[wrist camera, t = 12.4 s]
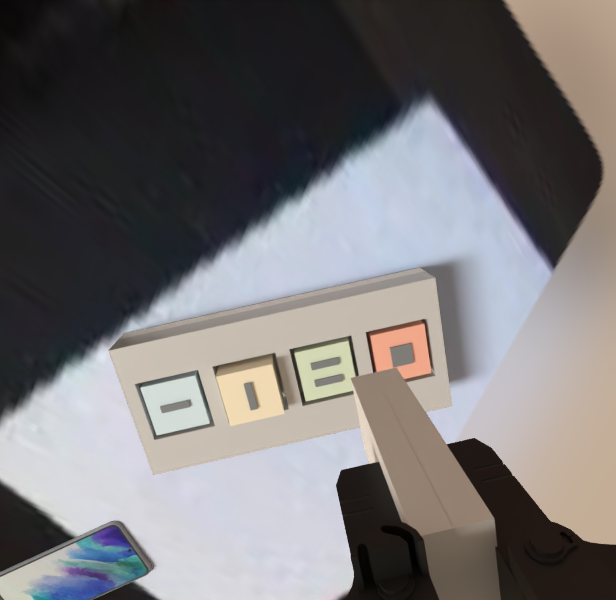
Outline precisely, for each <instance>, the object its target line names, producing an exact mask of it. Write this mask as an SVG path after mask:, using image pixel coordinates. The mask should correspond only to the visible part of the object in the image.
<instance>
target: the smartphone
mask: <svg viewBox="0 0 616 600" xmlns="http://www.w3.org/2000/svg"><path fill="white" fill-rule="evenodd" d="M58 550H59V551H58ZM150 571H151V564H150V562H149V561H148V559H147V558H146V557H145V555H144V554H143V552H142V551H141V550H140V548H139V547H138V546H137V544H136V543H135V542H134V540H133V539H132V537H131V536H130V535H129V533H128V532H127V531H126V529H125V528H124V527H123V525H122V524H121V523H120V522H118V521H111V522H109V523H106V524H104V525H102V526H100V527H98V528H95V529H93V530H91V531H89V532H87V533H85V534H82V535H80V536H78V537H76V538H74V539H71V540H69V541H67V542H65V543H63V544H61V545H58V546H56V547H54V548H52V549H50V550H48V551H45V552H43V553H41V554H39V555H37V556H34V557H32V558H30V559H28V560H26V561H24V562H21V563H19V564H17V565H15V566H13V567H10V568H8V569H6V570H4V571H2V572H0V599H1V600H92V599H94V598H97V597H99V596H101V595H103V594H106V593H108V592H110V591H112V590H114V589H117V588H119V587H121V586H123V585H126V584H128V583H130V582H132V581H134V580H137V579H139V578H141V577H143V576H146V575H147V574H148V573H149V572H150Z"/></svg>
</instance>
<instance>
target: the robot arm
mask: <svg viewBox="0 0 616 600" xmlns="http://www.w3.org/2000/svg"><path fill="white" fill-rule="evenodd" d="M351 382H352V387H353V392H354V397H355V402H356V407H357V412H358V417H359V423H360V428H361V433H362V438H363V443H364V448H365V452H366V455H367V458H368V461H369V464H366V465H362V466H358V467H353V468H349V469H345V470H341V472H340V475H339V478H338V481H337V484H336V487H337V492H338V497H339V501H340V506H341V511H342V515H343V520H344V525H345V529H346V534H347V539H348V543H349V548H350V553H351V561H352V565H353V570H354V580H353V585H352V588H351V590H350V592H349V594H348V596H347V597H346V598H345V599H344V600H616V545H609V544H598V543H590V542H587V541H583V540H582V539H581V538H580V537H579V536H578V535H576V534H575V533H574V532H573V531H572V530H570V529H568V528H566V527H564V526H562V525H560V524H558V523H555V522H551V521H550V520H549V519H548V518H547V517H546V515H545V514H544V513H543V512H542V510H541V509H540V508H539V507H538V505H537V504H536V503H535V502H534V500H533V499H532V498H531V497H530V495H529V494H528V493H527V492H526V491H525V489H524V488H523V487H522V485H521V484H520V483H519V482H518V481H517V479H516V478H515V477H514V476H512V473H511V472H510V470H509V469H508V468H507V467H506V465H505V464H503V462H502V460H501V459H500V458H499V457H498V456H497V454H496V453H495V452H494V451H493V449H492V448H491V447H489V446H487V445H485V444H484V443H482V442H480V441H479V440H477V439H475V438H472V439H468V440H464V441H459V442H455V443H451V444H447V445H446V443H445V441H444V440H443V438H442V437H441V435H440V434H439V432H438V431H437V429H436V428H435V426H434V424H433V423H432V421H431V420H430V418H429V417H428V415H427V414H426V412H425V411H424V409H423V407H422V406H421V404H420V403H419V401H418V400H417V398H416V397H415V395H414V394H413V392H412V390H411V389H410V387H409V386H408V384H407V383H406V381H405V380H404V378H403V377H402V375H401V373H400V372H399V370H398V369H397V368H392V369H388V370H383V371H379V372H375V373H370V374H366V375H361V376H357V377H353V378H351Z"/></svg>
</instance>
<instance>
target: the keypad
mask: <svg viewBox="0 0 616 600" xmlns="http://www.w3.org/2000/svg"><path fill="white" fill-rule="evenodd" d="M417 320H421V321H422V322H423V323H424V325H425V332H426V339H427V346H428V353H429V360H430V367H431V373H429V374H424V375H420V376H416V377H411V378H407V379H404V380H405V381H406V383H407V384H408V386H409V387H410V389H411V390H412V392H413V394H414V395H415V397H416V398H417V400H418V401H419V403H420V404H421V406H422V407H423V409H424V411H425V412H429V411H433V410H438V409H442V408H446V407H451V406H452V401H451V394H450V386H449V378H448V371H447V363H446V355H445V348H444V340H443V332H442V325H441V317H440V309H439V302H438V294H437V286H436V278H435V277H434V276H432V275H431V274H429V273H427V272H426V271H424V270H423V269H421V268H416V269H411V270H407V271H402V272H398V273H393V274H389V275H384V276H380V277H375V278H371V279H366V280H362V281H357V282H353V283H348V284H344V285H339V286H335V287H330V288H326V289H321V290H317V291H312V292H308V293H303V294H299V295H295V296H290V297H286V298H281V299H277V300H272V301H268V302H263V303H259V304H254V305H250V306H245V307H241V308H236V309H232V310H227V311H223V312H218V313H214V314H209V315H205V316H200V317H196V318H191V319H187V320H182V321H178V322H173V323H169V324H164V325H160V326H155V327H151V328H146V329H142V330H137V331H133V332H129V333H124V334H123V335H122V336H121V337H120V338H119V339H118V340H117V342H116V343H115V344H114V345H113V346H112V347H111V348H110V349H109V354H110V357H111V359H112V362H113V365H114V368H115V371H116V373H117V376H118V379H119V382H120V384H121V387H122V390H123V393H124V395H125V398H126V401H127V404H128V407H129V409H130V412H131V415H132V418H133V420H134V423H135V426H136V429H137V432H138V434H139V437H140V440H141V443H142V445H143V448H144V451H145V454H146V456H147V459H148V462H149V465H150V468H151V470H152V473H153V475H155V474H159V473H164V472H168V471H173V470H177V469H181V468H186V467H190V466H194V465H199V464H203V463H207V462H212V461H216V460H220V459H225V458H229V457H233V456H238V455H242V454H246V453H251V452H255V451H259V450H264V449H268V448H272V447H277V446H281V445H286V444H290V443H294V442H299V441H303V440H307V439H312V438H316V437H320V436H325V435H329V434H333V433H338V432H342V431H346V430H351V429H355V428H359V427H360V423H359V417H358V412H357V407H356V402H355V397H354V392H353V391H350V392H345V393H341V394H337V395H332V396H328V397H323V398H319V399H315V400H310V401H305V396H304V392H303V388H302V383H301V379H300V375H299V371H298V366H297V362H296V358H295V353H294V348H297V347H302V346H306V345H311V344H315V343H320V342H324V341H328V340H333V339H337V338H342V337H347V339H348V341H349V346H350V351H351V357H352V362H353V367H354V372H355V377H357V376H361V375H366V374H370V373H373V368H372V363H371V357H370V352H369V346H368V341H367V335H366V332H368V331H373V330H377V329H382V328H386V327H391V326H395V325H399V324H404V323H408V322H413V321H417ZM271 353H272V355H273V359H274V363H275V367H276V371H277V375H278V379H279V383H280V387H281V391H282V395H283V399H284V413H285V414H282V415H278V416H273V417H269V418H264V419H260V420H256V421H251V422H247V423H243V424H238V425H234V426H230V423H229V420H228V417H227V413H226V410H225V406H224V403H223V399H222V396H221V393H220V389H219V386H218V382H217V379H216V375H217V371H218V367H219V365H222V364H226V363H231V362H235V361H240V360H244V359H249V358H253V357H257V356H262V355H266V354H271ZM195 370H198V372H199V375H200V378H201V382H202V385H203V388H204V391H205V395H206V398H207V401H208V405H209V408H210V411H211V415H212V416H211V420H210V423H209V424H205V425H201V426H196V427H192V428H187V429H183V430H179V431H174V432H170V433H166V434H161V435H156V432H155V429H154V426H153V423H152V420H151V418H150V415H149V412H148V409H147V406H146V403H145V400H144V397H143V394H142V392H141V389H140V387H141V386H142V384H143V382H147V381H151V380H155V379H160V378H164V377H169V376H173V375H178V374H182V373H186V372H191V371H195Z"/></svg>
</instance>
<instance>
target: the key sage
mask: <svg viewBox="0 0 616 600" xmlns="http://www.w3.org/2000/svg"><path fill="white" fill-rule="evenodd" d="M294 353H295V358H296V362H297V366H298V371H299V375H300V379H301V383H302V388H303V392H304V396H305V401H310V400H315V399H319V398H323V397H328V396H332V395H337V394H341V393H345V392H350V391H353V387H352V382H351V378H353V377H355V372H354V367H353V362H352V357H351V351H350V346H349V341H348V339H347V337H342V338H337V339H333V340H328V341H324V342H320V343H315V344H311V345H306V346H302V347H297V348H294Z"/></svg>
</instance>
